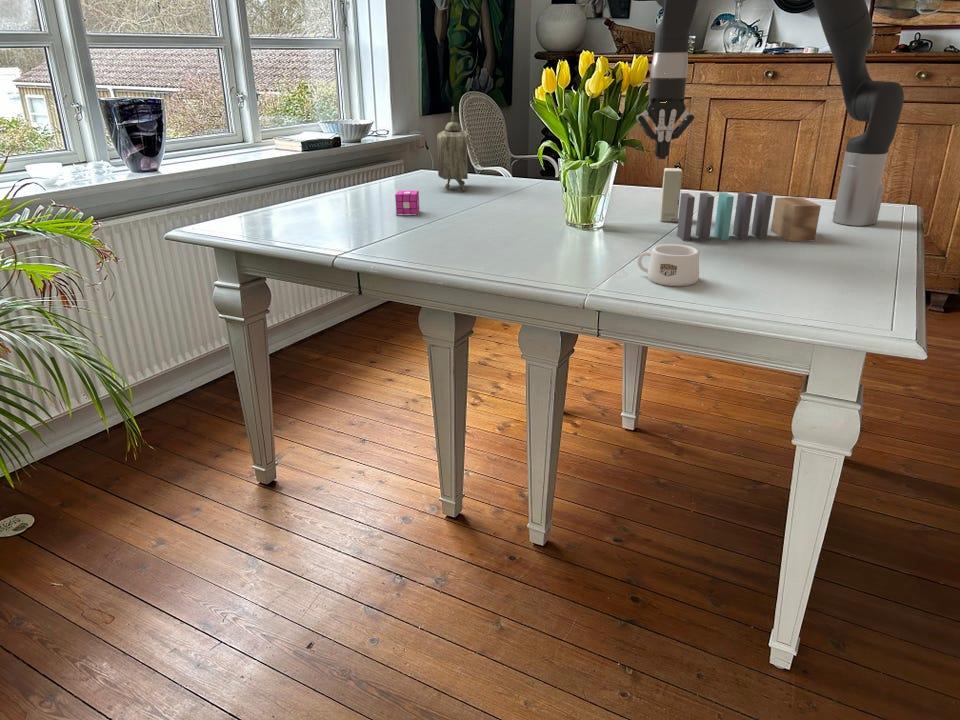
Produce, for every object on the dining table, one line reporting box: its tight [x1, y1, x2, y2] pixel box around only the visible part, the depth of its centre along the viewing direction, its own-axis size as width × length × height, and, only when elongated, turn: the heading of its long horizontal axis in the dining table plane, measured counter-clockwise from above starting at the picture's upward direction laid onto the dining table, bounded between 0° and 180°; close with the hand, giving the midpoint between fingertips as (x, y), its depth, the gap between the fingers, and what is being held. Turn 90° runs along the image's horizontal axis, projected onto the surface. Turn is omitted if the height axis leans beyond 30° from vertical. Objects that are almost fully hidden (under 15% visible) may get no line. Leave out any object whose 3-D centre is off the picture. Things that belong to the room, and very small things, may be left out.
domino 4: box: [732, 191, 754, 240], centre depth 166 cm, size 2×5×10 cm, turn 3°
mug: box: [637, 243, 700, 287], centre depth 137 cm, size 12×10×6 cm
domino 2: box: [695, 192, 715, 241], centre depth 165 cm, size 2×5×10 cm, turn 3°
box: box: [659, 167, 683, 223], centre depth 182 cm, size 5×4×13 cm
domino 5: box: [750, 191, 774, 240], centre depth 166 cm, size 2×5×10 cm, turn 3°
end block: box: [770, 196, 822, 242], centre depth 167 cm, size 6×10×8 cm, turn 3°
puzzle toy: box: [394, 190, 421, 215], centre depth 195 cm, size 6×6×6 cm
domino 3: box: [713, 191, 735, 241], centre depth 166 cm, size 2×5×10 cm, turn 3°
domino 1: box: [676, 192, 696, 242], centre depth 165 cm, size 2×5×10 cm, turn 3°
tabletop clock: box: [436, 106, 469, 192], centre depth 223 cm, size 14×9×25 cm, turn 1°
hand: (661, 158), depth 160 cm, fingers closed
